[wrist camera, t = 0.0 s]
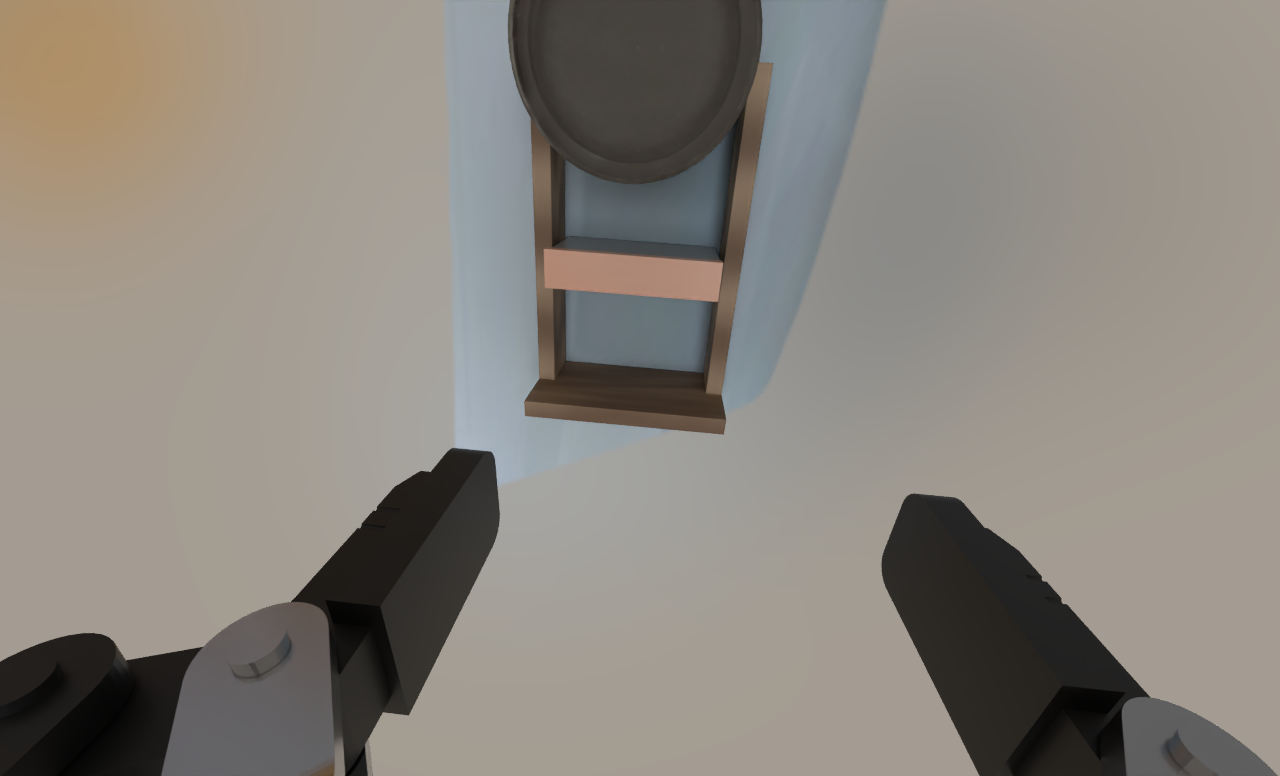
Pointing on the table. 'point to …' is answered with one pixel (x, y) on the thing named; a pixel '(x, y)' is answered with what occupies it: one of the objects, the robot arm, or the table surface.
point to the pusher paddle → (634, 268)
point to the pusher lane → (634, 389)
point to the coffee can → (634, 79)
